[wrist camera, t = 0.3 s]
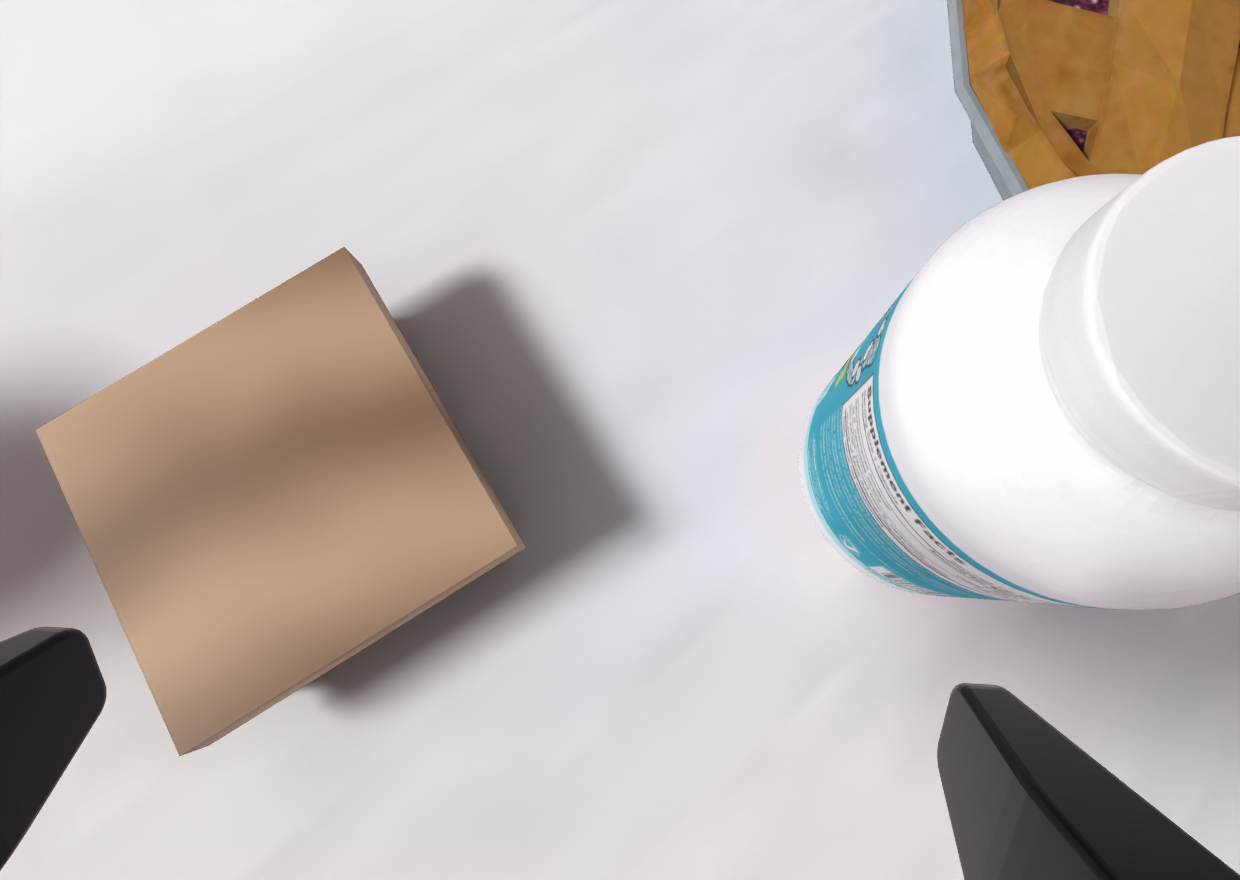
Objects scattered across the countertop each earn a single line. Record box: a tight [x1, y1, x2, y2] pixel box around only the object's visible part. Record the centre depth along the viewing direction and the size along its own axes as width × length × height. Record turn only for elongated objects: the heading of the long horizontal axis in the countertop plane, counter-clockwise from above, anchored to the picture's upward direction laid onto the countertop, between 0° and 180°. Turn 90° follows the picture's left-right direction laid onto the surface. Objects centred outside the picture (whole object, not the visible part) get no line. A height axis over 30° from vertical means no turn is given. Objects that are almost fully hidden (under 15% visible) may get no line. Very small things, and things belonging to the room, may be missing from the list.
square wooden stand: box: [36, 247, 526, 756], centre depth 21 cm, size 10×10×4 cm
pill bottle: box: [799, 136, 1240, 610], centre depth 15 cm, size 8×7×14 cm
